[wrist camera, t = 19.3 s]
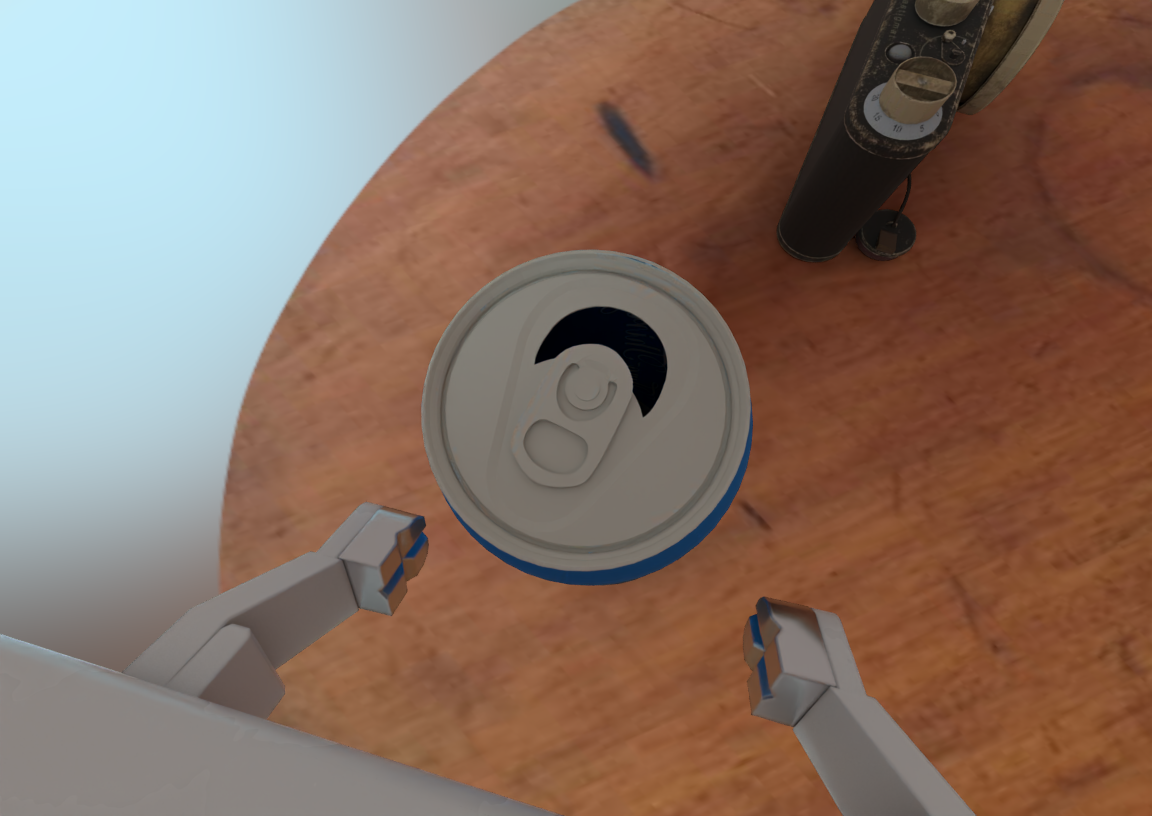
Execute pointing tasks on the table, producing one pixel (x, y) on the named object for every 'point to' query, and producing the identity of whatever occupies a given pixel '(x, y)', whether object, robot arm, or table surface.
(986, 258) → the table surface
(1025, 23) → the camera
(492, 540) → the beverage can
